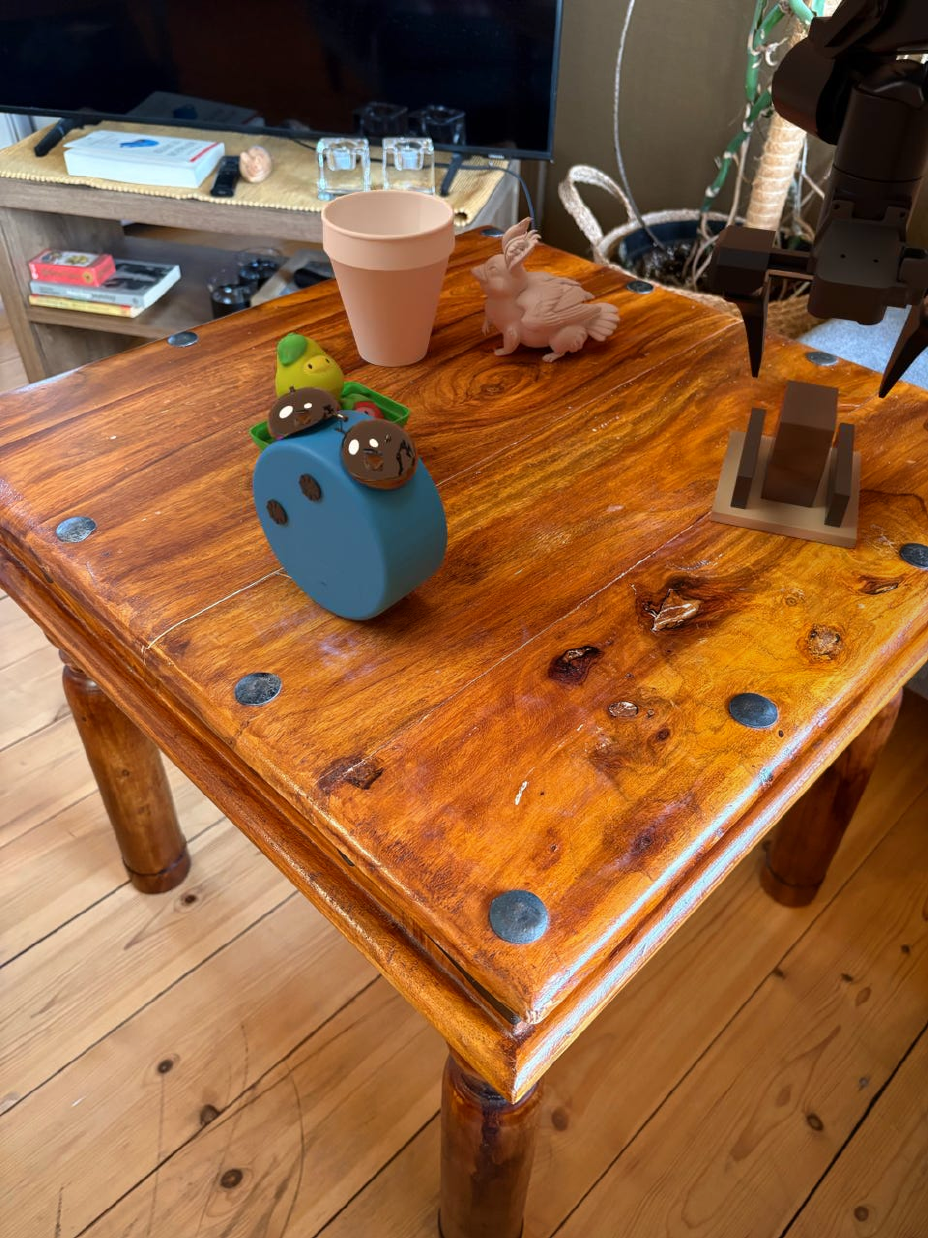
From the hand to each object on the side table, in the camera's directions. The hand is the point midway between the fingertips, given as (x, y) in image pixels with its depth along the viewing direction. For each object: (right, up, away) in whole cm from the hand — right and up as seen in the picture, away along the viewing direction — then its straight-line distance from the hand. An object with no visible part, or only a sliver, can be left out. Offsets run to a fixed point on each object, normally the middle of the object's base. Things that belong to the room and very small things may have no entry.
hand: (817, 385), depth 75 cm
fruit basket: (-38, -5, +8) cm, 39 cm away
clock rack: (0, -7, +7) cm, 10 cm away
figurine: (-19, +10, +26) cm, 33 cm away
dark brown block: (0, -6, +6) cm, 9 cm away
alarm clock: (-35, -16, -3) cm, 38 cm away
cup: (-34, +9, +25) cm, 43 cm away
